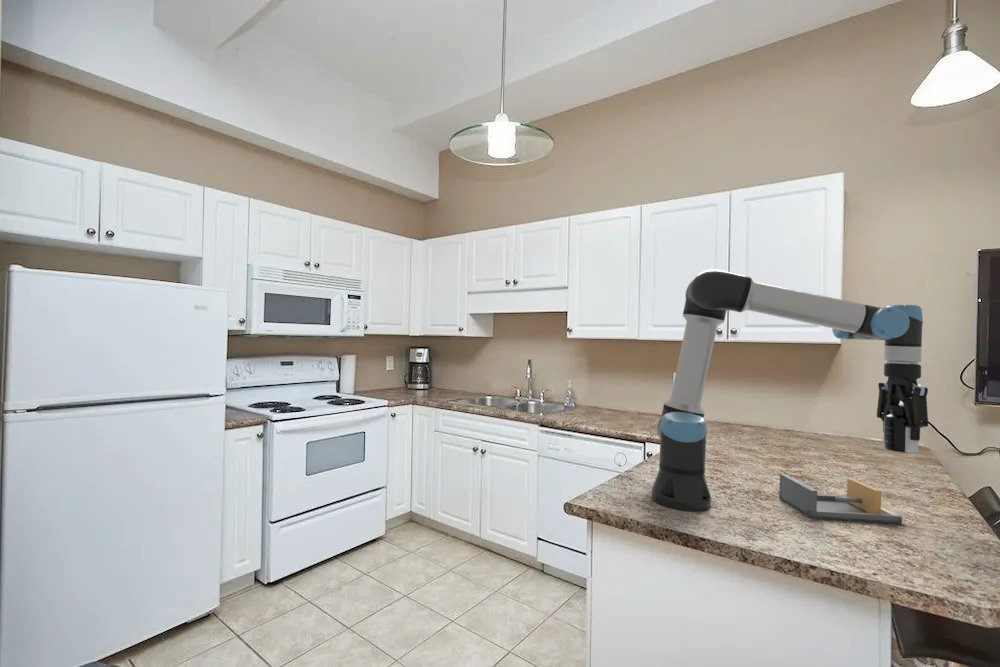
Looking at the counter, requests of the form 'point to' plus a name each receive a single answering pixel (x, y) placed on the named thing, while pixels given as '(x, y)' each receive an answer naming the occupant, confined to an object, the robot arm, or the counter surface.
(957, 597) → the counter surface
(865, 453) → the counter surface
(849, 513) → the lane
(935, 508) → the counter surface
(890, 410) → the supplement bottle
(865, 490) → the pusher
